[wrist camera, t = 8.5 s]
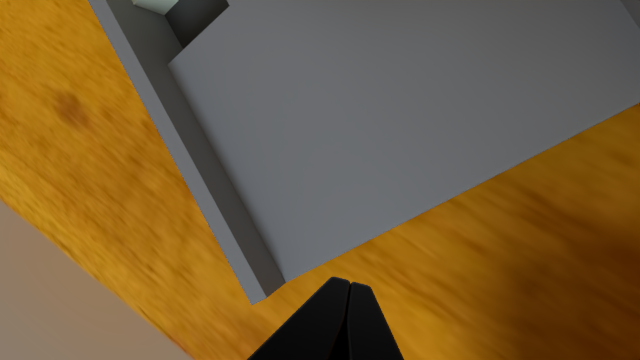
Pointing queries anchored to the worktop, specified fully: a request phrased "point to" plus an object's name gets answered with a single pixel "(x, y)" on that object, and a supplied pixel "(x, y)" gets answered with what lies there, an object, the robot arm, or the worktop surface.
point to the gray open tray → (361, 107)
